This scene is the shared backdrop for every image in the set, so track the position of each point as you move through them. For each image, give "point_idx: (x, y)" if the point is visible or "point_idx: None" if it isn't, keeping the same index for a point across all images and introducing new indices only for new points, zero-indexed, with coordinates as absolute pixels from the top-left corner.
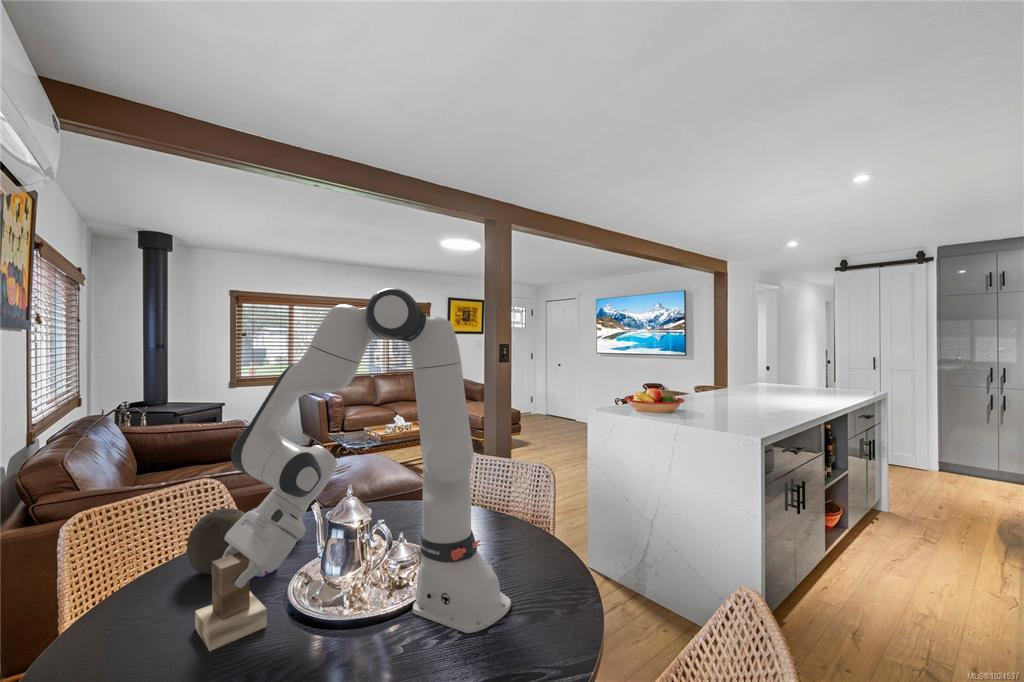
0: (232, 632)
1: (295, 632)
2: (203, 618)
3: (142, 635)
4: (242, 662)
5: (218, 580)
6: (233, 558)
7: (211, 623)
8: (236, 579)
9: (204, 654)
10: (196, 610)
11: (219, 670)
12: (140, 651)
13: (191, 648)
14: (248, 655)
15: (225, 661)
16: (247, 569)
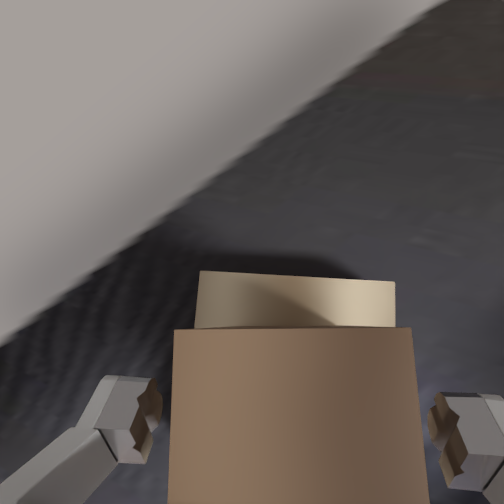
0: None
1: None
2: (309, 285)
3: (461, 172)
4: (91, 319)
5: (258, 327)
6: (313, 500)
7: (249, 293)
8: (119, 395)
9: (211, 264)
10: (392, 285)
11: (111, 268)
12: (369, 154)
13: (270, 249)
14: (106, 343)
15: (133, 291)
16: (20, 484)
